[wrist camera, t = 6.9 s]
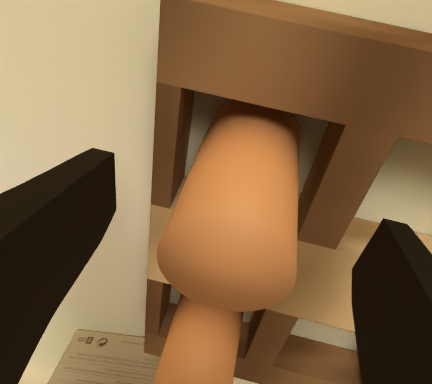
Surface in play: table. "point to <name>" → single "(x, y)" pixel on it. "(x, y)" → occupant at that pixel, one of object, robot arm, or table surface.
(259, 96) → the wooden grid frame
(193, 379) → the pin
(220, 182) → the loose pin
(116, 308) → the table surface
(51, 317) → the robot arm
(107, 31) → the table surface
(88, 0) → the table surface
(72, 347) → the supplement box
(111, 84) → the table surface
